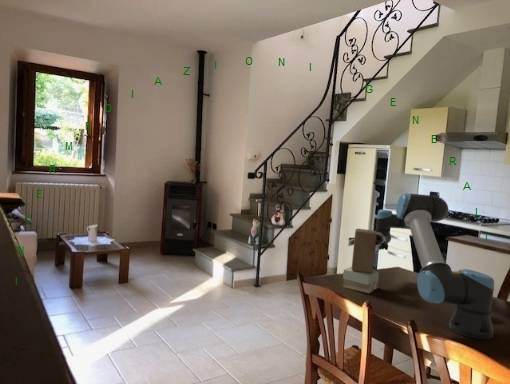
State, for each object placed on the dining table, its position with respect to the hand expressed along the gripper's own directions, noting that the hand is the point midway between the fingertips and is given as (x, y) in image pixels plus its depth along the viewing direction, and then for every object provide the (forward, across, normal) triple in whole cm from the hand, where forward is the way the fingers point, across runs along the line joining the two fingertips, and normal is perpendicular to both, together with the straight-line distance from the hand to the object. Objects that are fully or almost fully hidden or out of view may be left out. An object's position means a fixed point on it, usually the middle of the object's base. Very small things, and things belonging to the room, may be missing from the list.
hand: (362, 245), depth 202 cm
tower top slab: (-3, 0, -17) cm, 18 cm away
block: (-3, 0, -13) cm, 14 cm away
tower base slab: (-3, 0, -22) cm, 22 cm away
